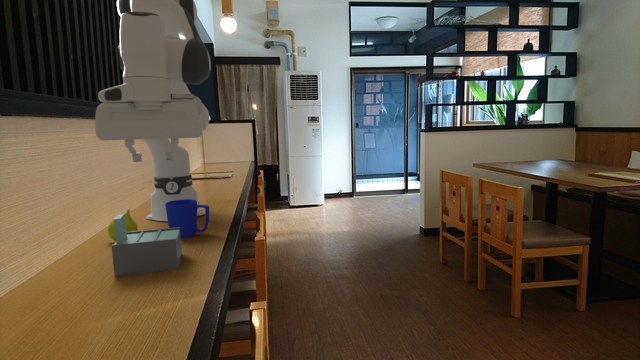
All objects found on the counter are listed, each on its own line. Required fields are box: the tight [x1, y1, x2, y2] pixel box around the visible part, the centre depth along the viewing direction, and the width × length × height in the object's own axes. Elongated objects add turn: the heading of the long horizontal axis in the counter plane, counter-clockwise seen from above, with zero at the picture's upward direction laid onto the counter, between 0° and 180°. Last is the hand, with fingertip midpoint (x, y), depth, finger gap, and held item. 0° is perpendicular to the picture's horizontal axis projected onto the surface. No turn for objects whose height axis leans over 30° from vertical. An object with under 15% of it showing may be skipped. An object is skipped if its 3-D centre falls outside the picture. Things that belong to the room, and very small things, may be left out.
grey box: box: [111, 227, 183, 278], centre depth 82 cm, size 10×12×7 cm
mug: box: [165, 199, 210, 239], centre depth 103 cm, size 8×12×10 cm
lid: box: [113, 213, 180, 244], centre depth 81 cm, size 8×12×6 cm
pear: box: [107, 208, 139, 243], centre depth 101 cm, size 7×7×10 cm
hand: (154, 161), depth 80 cm, fingers open, 5 cm apart
